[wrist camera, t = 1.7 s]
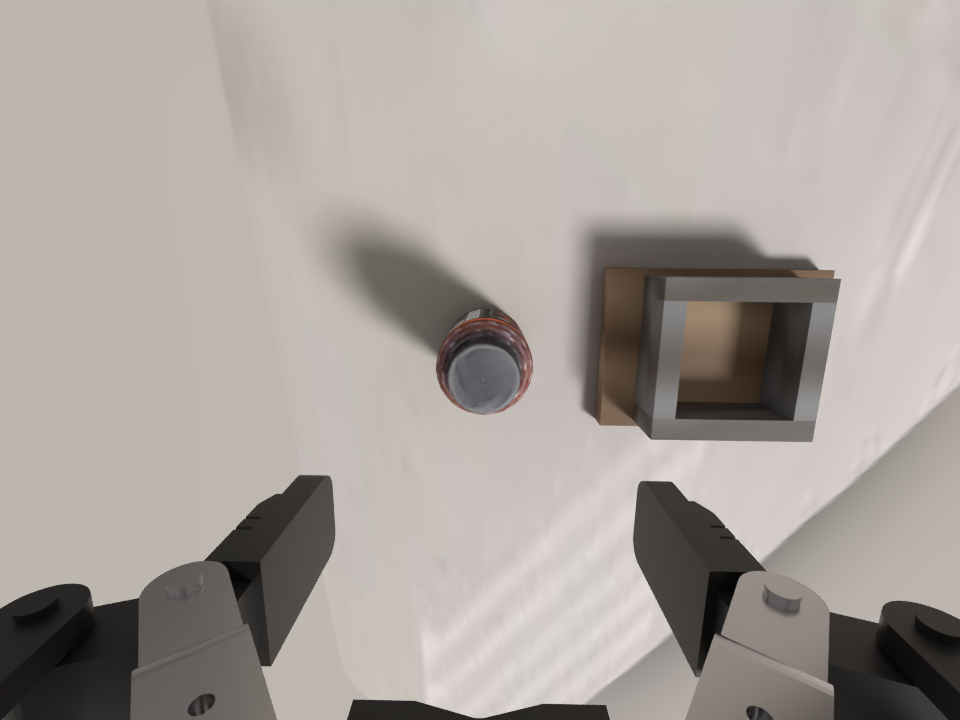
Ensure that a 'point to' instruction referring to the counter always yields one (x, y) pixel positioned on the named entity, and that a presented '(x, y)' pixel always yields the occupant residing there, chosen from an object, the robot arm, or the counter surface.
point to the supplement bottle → (484, 362)
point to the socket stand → (715, 352)
